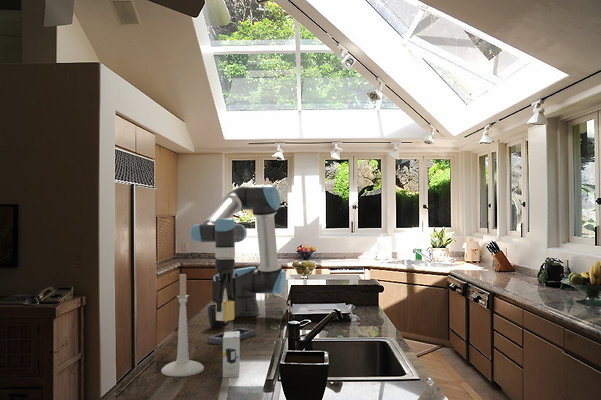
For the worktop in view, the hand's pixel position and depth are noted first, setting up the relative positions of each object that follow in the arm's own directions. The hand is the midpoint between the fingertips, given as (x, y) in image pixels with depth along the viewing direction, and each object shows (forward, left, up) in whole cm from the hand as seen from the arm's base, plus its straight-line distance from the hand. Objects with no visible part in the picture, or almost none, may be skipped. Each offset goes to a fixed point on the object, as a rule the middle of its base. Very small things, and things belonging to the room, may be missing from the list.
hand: (225, 318), depth 197 cm
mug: (-20, -18, -9) cm, 28 cm away
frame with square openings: (-5, 0, -9) cm, 10 cm away
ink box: (+33, +28, -9) cm, 44 cm away
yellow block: (0, 0, 0) cm, 0 cm away
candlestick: (+37, +12, -9) cm, 40 cm away
